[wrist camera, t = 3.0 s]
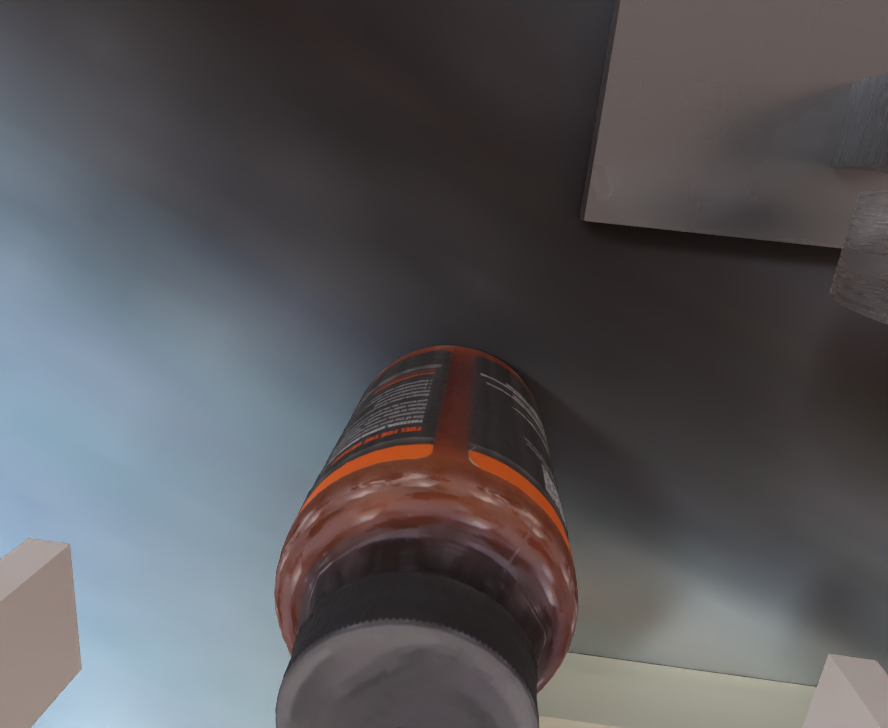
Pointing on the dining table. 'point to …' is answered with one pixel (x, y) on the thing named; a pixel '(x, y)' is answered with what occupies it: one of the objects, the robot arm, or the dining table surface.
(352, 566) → the supplement bottle
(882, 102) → the pulley bracket
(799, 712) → the tray
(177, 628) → the dining table surface
